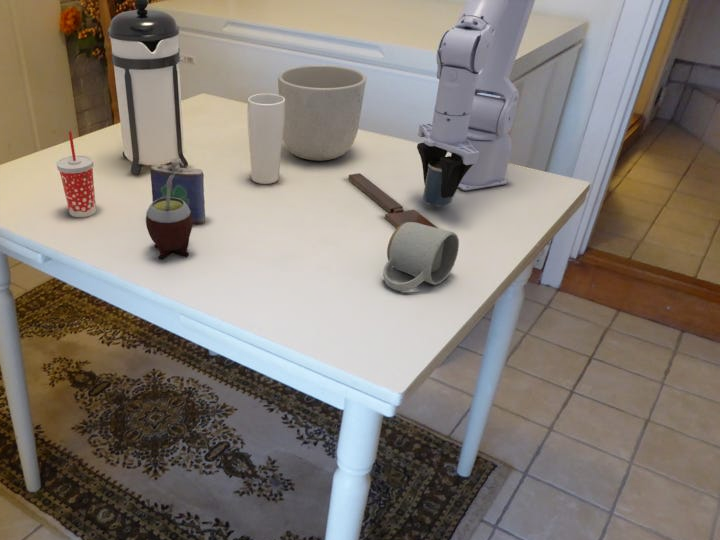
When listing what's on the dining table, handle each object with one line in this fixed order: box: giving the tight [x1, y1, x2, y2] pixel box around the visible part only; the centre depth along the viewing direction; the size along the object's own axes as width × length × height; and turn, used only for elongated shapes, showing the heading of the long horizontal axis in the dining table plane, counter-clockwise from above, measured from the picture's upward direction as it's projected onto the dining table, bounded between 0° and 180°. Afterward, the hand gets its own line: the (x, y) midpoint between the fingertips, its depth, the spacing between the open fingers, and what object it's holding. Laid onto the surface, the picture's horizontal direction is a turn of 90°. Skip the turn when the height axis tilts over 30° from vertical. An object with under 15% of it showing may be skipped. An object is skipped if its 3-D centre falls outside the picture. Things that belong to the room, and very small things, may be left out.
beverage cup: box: [55, 130, 97, 218], centre depth 115 cm, size 6×6×14 cm
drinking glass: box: [246, 93, 285, 185], centre depth 125 cm, size 7×7×15 cm
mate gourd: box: [145, 173, 194, 261], centre depth 102 cm, size 8×8×15 cm
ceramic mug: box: [382, 222, 460, 292], centre depth 98 cm, size 11×8×8 cm
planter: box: [277, 64, 367, 162], centre depth 136 cm, size 17×17×15 cm
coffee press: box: [107, 0, 189, 176], centre depth 129 cm, size 17×16×30 cm
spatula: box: [348, 172, 438, 229], centre depth 120 cm, size 6×26×1 cm, turn 19°
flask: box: [149, 158, 206, 225], centre depth 113 cm, size 9×3×11 cm, turn 74°
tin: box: [422, 158, 453, 207], centre depth 116 cm, size 5×5×6 cm
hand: (438, 190), depth 117 cm, fingers closed on tin, 5 cm apart
